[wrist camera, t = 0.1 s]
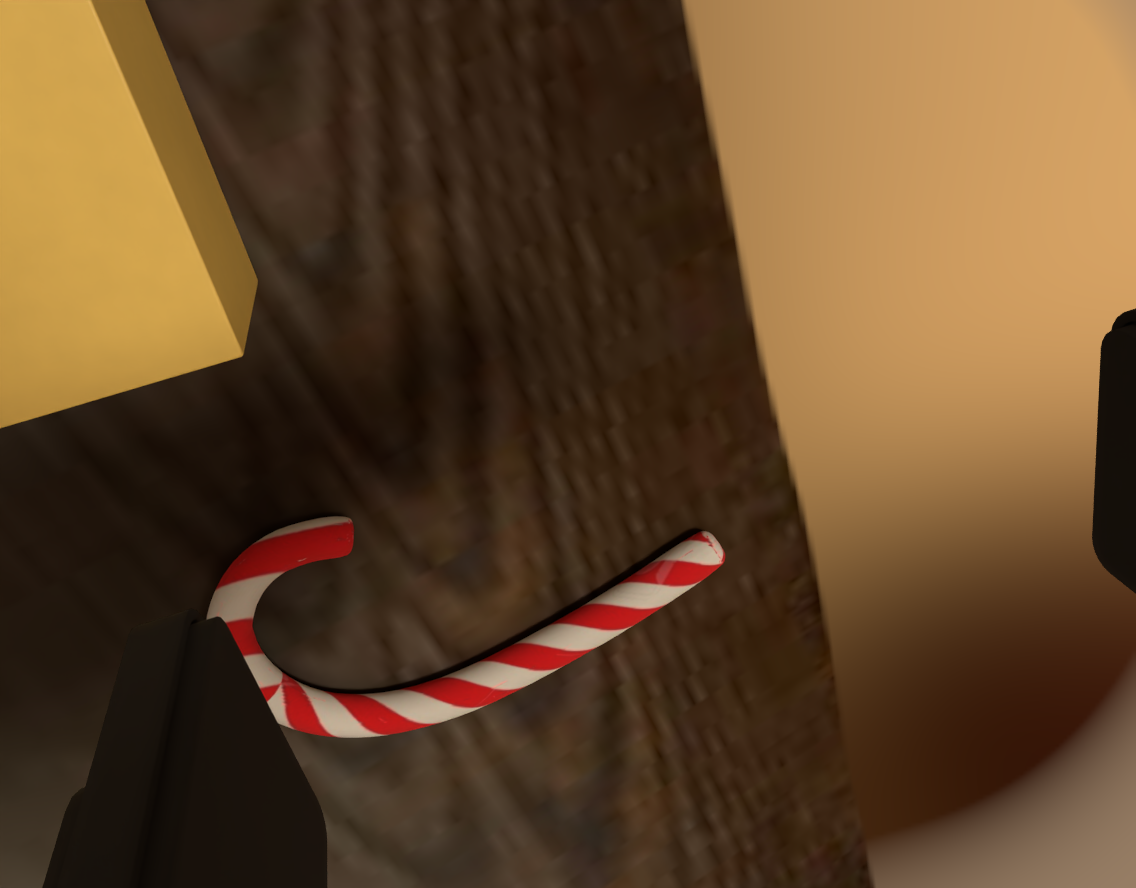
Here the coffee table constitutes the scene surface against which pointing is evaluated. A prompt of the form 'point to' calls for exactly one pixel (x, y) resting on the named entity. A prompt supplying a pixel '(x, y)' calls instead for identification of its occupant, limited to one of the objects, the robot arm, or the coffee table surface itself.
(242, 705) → the robot arm
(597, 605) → the candy cane
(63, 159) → the cheese
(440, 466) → the coffee table surface
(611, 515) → the coffee table surface
